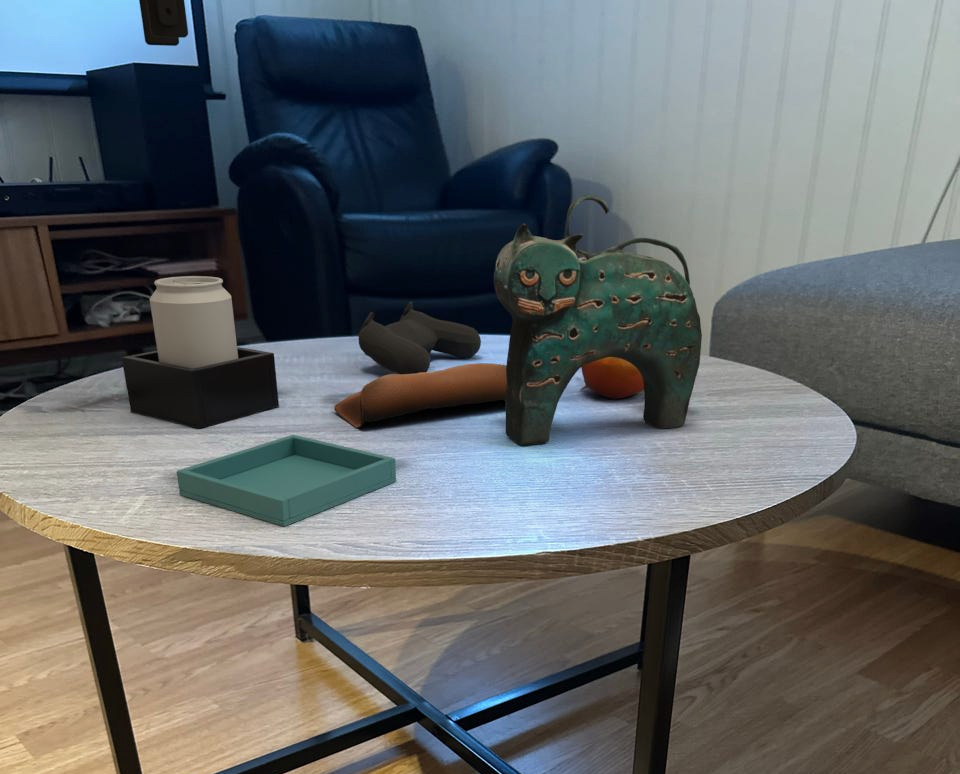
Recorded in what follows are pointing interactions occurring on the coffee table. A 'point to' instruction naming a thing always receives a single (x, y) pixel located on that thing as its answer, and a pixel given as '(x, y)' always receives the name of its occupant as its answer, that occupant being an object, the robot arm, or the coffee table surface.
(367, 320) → the gaming controller
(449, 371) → the sunglasses case
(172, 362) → the can
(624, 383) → the fruit
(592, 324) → the ceramic cat
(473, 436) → the coffee table surface
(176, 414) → the box
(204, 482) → the tray
